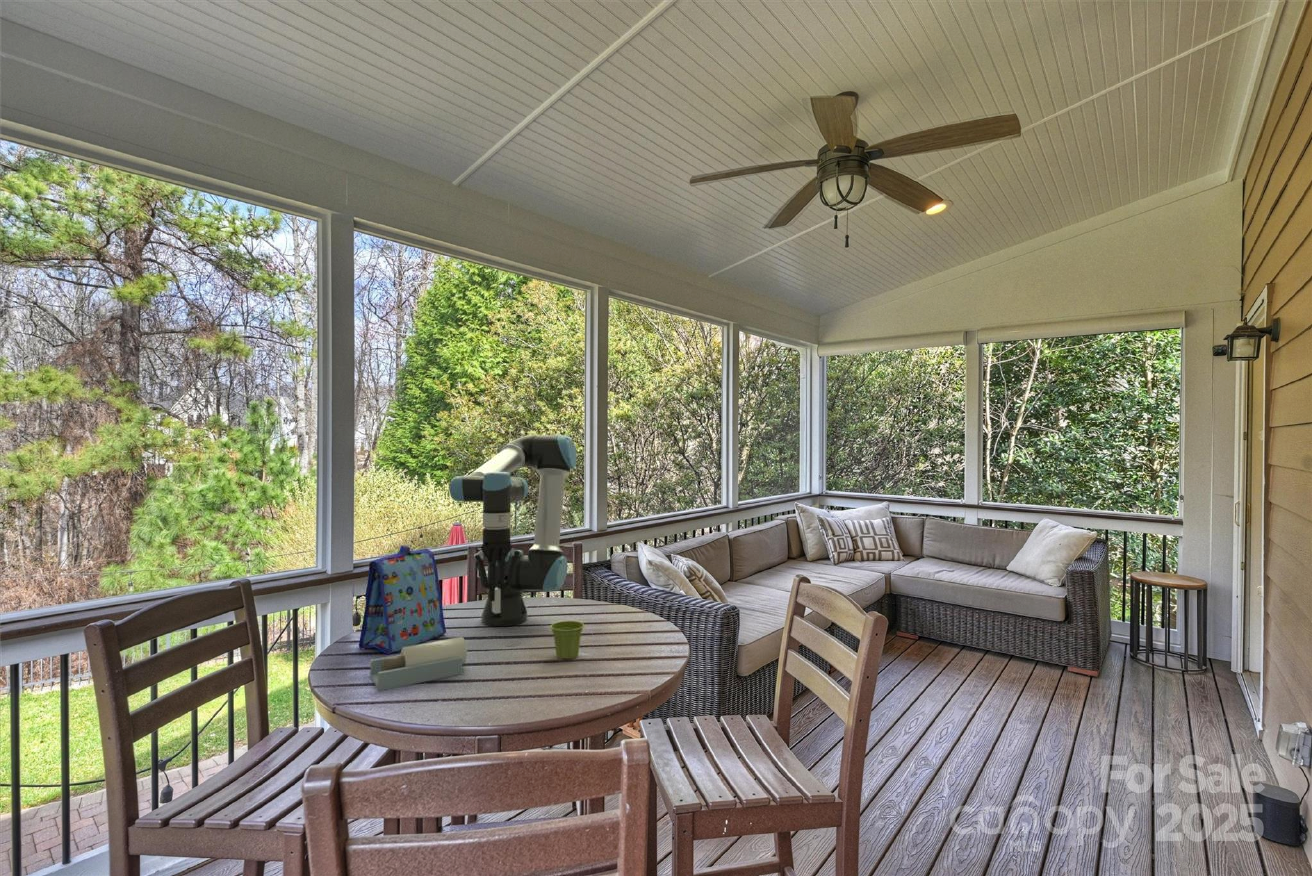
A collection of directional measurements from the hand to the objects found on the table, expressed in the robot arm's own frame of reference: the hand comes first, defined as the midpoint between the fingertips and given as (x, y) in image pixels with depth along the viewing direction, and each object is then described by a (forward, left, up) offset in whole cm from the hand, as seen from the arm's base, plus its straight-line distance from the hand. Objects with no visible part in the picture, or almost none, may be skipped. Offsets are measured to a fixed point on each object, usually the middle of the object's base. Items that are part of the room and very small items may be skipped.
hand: (496, 612), depth 169 cm
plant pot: (-18, +8, -13) cm, 24 cm away
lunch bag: (+18, -30, -13) cm, 38 cm away
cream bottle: (+9, +1, -9) cm, 13 cm away
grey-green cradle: (+21, 0, -13) cm, 25 cm away
